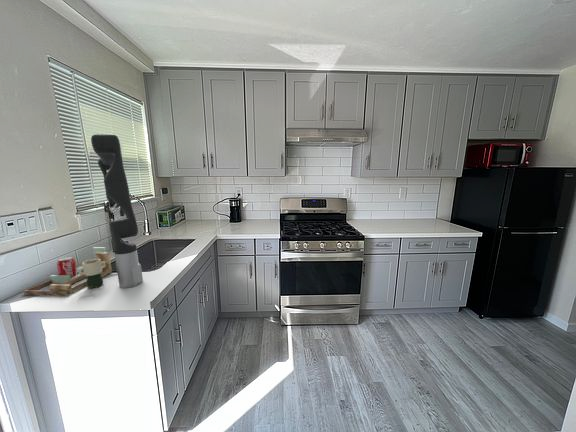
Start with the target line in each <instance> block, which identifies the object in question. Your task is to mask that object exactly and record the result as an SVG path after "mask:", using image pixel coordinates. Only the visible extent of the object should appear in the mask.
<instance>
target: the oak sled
mask: <svg viewBox="0 0 576 432" xmlns="http://www.w3.org/2000/svg"><path fill="white" fill-rule="evenodd" d="M95 255H96V259H101V262H103V261H105V265H106V267H104V268H102V272H101V273H100V274H101V276H102V278H103V277H105V276H107V275H109V274H111V273H113V269H112V264H111V257H110V252H106V253H101V252H97V253H95ZM102 266H103V263H102ZM108 273H109V274H108ZM87 277H88V276H86V275H85V274H82V275H80V276H78V277H76V278H73V279H71V280H69V281H67V282H65V283H62V284H59V283H52V284H50V285H48V286H49V291H68V294H69V295H70V294H72V293H74V292H76V291H77V290H81V289H82V288H84V287H85V286H86V287H87V280H85V281H83V282H80V283H78V282H79V281H81V280H83V279H85V278H87ZM75 283H78V284H76V285H74V286H72V284H75Z"/></svg>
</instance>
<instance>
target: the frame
mask: <svg viewBox="0 0 576 432" xmlns="http://www.w3.org/2000/svg"><path fill="white" fill-rule="evenodd" d="M51 284H53V283H52V282H51V278H50V279H48V280H46V281H43V282H42V283H39V284H37V285H34V286H31V287H29V288H26V289H25V290H24V289H23V294H24V296H47V295H49V296H50V297H51V296H52V297H69V295H70V294H68V291H51V290H42V289H43V288H45V287H47V286H49V285H51ZM49 296H48V297H49Z"/></svg>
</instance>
